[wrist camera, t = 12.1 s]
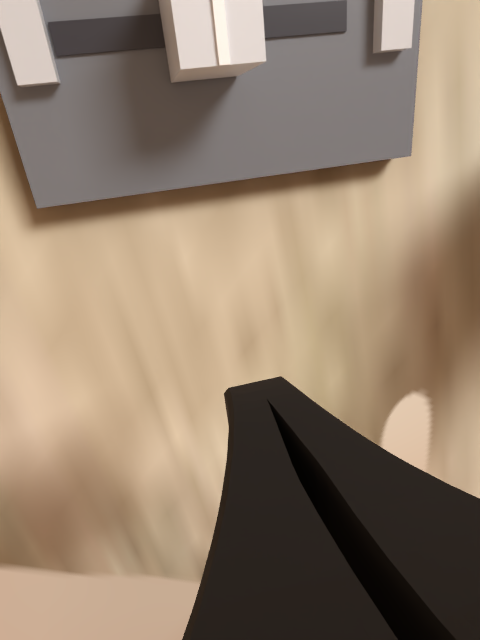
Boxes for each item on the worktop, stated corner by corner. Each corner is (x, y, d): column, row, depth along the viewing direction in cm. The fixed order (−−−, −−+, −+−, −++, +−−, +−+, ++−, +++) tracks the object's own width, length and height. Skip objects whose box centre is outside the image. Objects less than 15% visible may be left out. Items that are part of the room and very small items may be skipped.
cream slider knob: (228, -32, 13) (258, -83, 10) (238, 75, 15) (267, 60, 11) (153, -28, 13) (160, -80, 10) (171, 82, 14) (181, 68, 11)
